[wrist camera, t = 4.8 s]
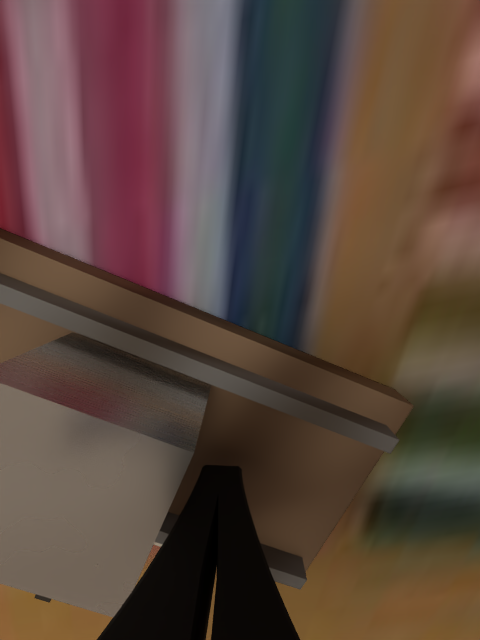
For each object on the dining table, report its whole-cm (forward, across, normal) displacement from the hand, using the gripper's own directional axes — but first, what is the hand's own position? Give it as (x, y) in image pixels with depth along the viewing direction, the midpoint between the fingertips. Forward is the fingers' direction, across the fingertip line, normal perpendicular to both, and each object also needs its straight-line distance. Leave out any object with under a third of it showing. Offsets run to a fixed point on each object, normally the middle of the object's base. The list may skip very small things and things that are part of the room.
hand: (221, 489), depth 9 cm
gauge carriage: (+1, +5, -1) cm, 5 cm away
